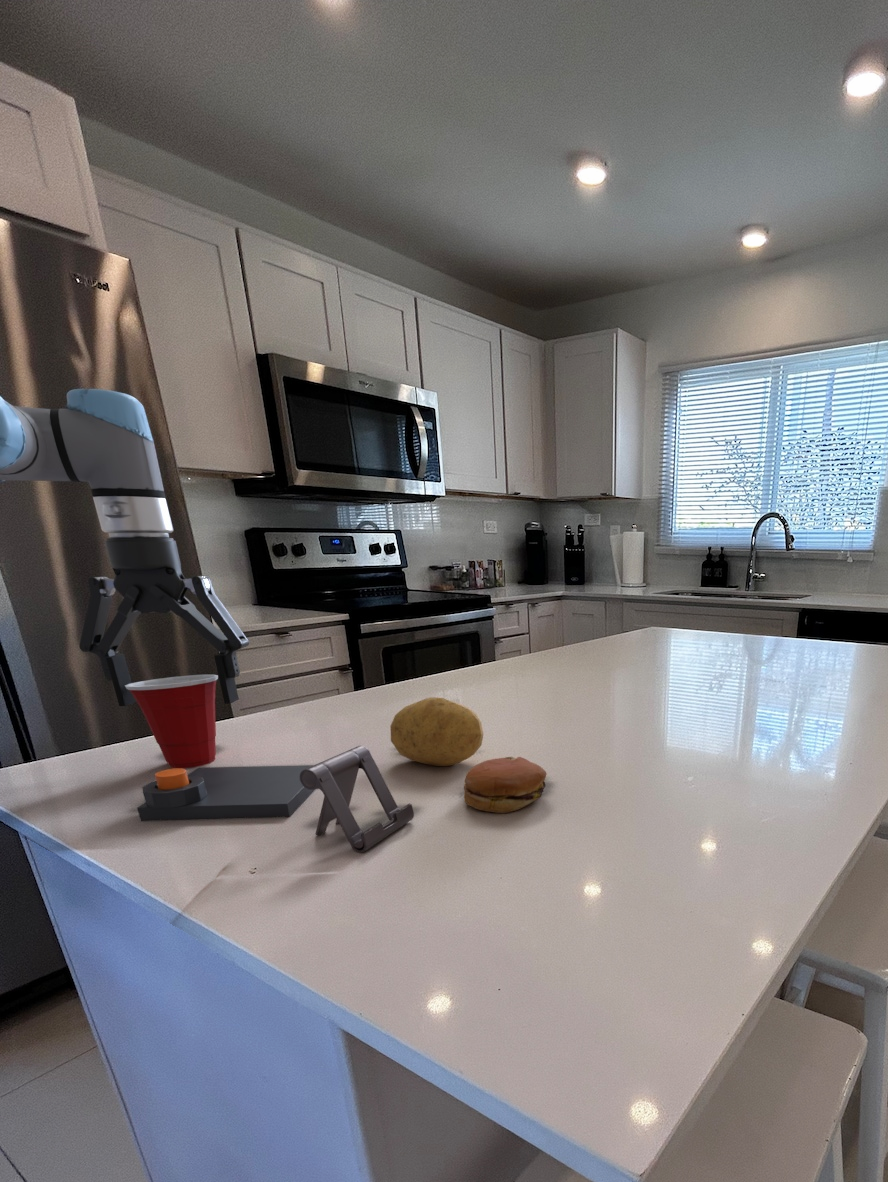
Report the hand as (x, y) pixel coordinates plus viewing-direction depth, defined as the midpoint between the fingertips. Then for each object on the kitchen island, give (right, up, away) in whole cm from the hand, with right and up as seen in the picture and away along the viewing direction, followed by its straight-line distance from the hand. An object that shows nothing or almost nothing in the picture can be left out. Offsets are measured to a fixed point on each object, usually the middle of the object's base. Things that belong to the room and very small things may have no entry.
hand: (180, 703), depth 90 cm
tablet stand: (+32, -17, -20) cm, 41 cm away
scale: (+14, -13, -10) cm, 21 cm away
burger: (+46, -13, -10) cm, 49 cm away
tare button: (+9, -12, -16) cm, 22 cm away
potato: (+35, -8, +3) cm, 36 cm away
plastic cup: (0, -8, +3) cm, 9 cm away
